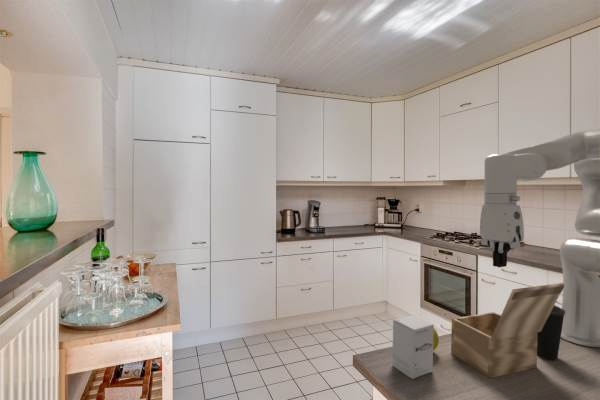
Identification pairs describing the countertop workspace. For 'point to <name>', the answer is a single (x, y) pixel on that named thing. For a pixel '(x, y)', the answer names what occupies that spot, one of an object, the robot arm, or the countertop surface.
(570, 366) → the countertop surface
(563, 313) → the drinking cup
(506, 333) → the lid flap
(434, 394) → the countertop surface
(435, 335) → the lemon
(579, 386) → the countertop surface
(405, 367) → the supplement box
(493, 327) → the light brown boxy piece
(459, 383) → the countertop surface
